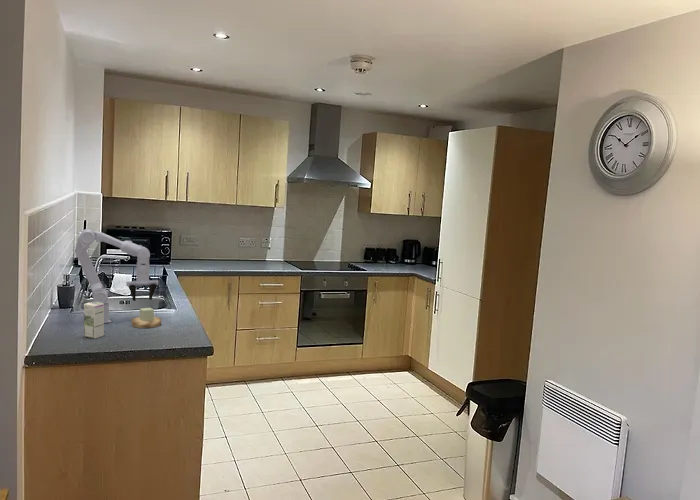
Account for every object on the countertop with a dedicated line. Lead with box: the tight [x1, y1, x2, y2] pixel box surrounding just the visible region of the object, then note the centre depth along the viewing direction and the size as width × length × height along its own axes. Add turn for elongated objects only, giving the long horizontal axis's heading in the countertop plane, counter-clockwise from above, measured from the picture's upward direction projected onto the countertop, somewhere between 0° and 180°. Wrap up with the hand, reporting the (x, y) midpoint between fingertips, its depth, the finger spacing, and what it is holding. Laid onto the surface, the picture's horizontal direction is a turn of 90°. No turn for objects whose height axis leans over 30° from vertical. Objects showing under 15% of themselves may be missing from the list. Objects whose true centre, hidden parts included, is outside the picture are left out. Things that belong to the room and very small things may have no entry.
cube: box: [139, 307, 155, 321], centre depth 252 cm, size 5×5×5 cm
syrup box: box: [83, 301, 105, 339], centre depth 229 cm, size 6×6×14 cm
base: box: [131, 316, 162, 329], centre depth 253 cm, size 13×13×2 cm
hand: (142, 300), depth 260 cm, fingers open, 7 cm apart
